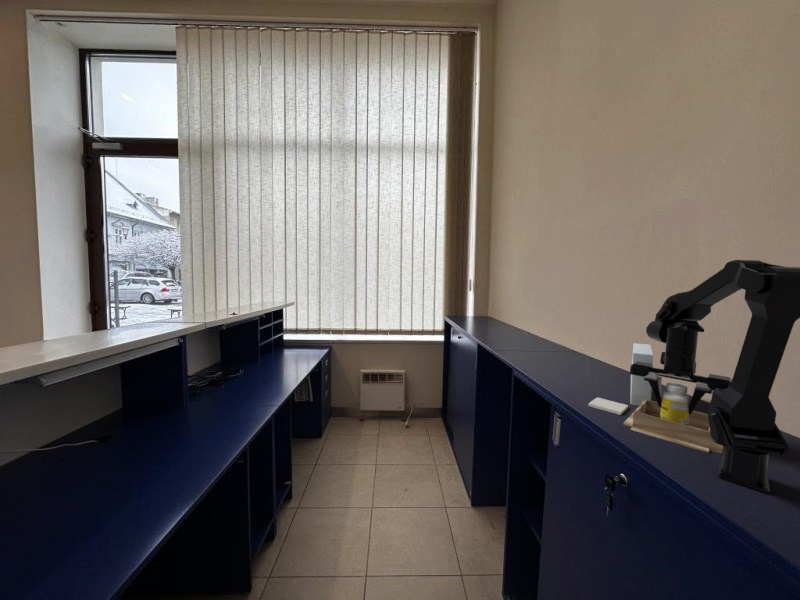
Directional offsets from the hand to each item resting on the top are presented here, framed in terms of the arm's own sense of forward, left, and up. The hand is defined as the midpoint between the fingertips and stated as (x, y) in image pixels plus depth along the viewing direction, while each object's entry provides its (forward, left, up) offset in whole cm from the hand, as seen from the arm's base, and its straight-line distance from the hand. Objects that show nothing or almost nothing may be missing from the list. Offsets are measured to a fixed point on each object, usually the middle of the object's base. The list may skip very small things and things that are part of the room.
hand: (674, 410), depth 81 cm
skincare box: (+23, +11, -5) cm, 26 cm away
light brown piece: (0, 0, -5) cm, 5 cm away
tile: (+4, +15, -5) cm, 16 cm away
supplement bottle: (0, 0, -4) cm, 4 cm away
